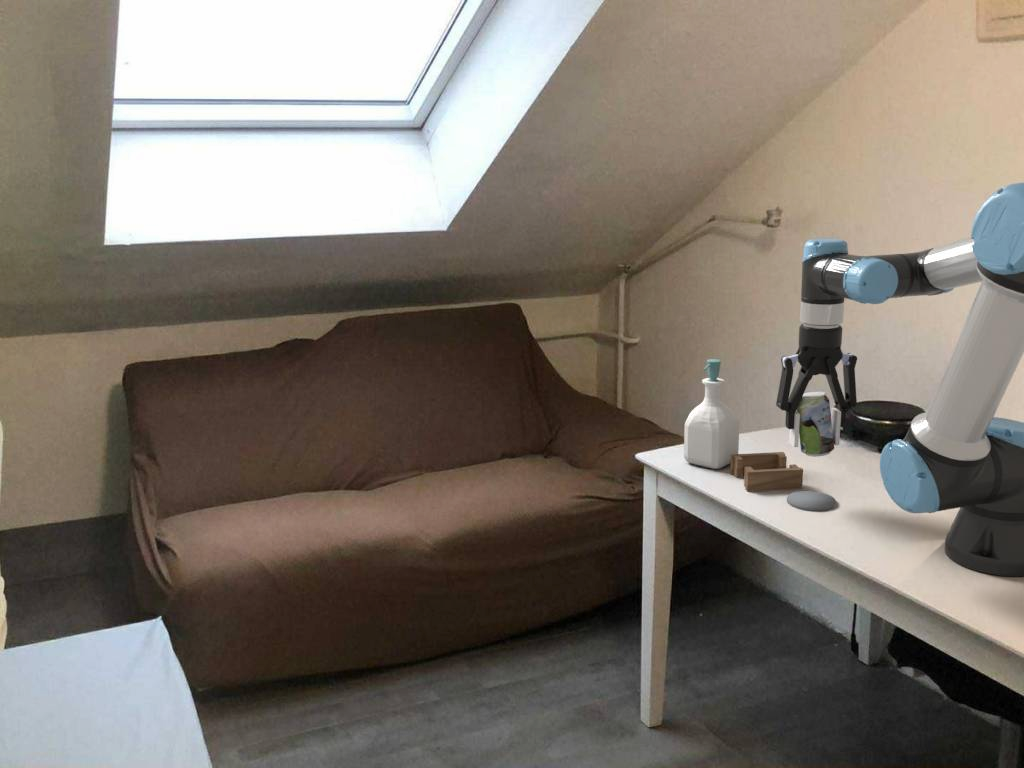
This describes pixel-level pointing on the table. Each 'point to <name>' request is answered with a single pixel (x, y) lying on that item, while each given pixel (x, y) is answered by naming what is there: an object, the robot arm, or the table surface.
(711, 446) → the soap bottle
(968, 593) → the table surface
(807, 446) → the beverage can
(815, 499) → the coaster
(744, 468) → the caddy
